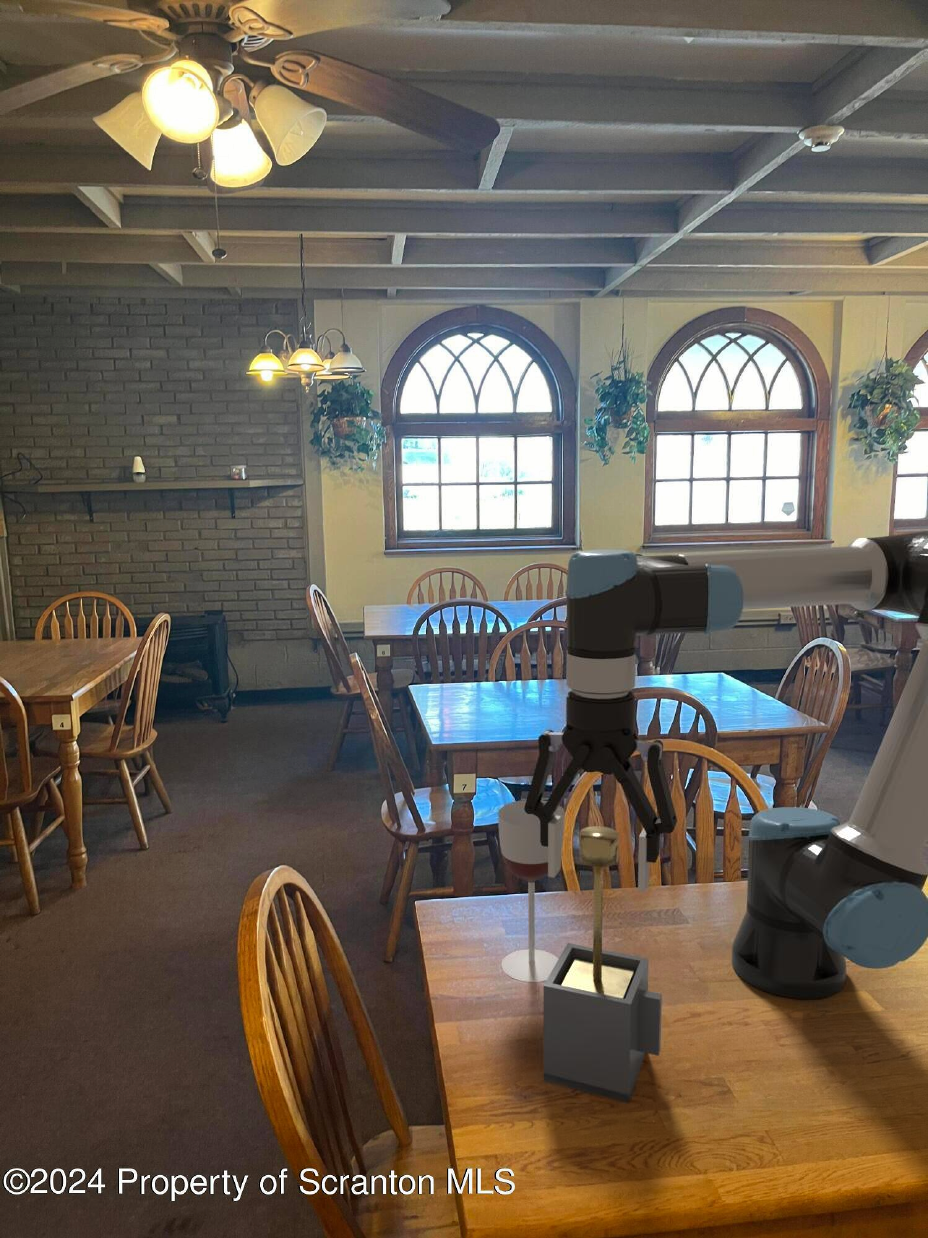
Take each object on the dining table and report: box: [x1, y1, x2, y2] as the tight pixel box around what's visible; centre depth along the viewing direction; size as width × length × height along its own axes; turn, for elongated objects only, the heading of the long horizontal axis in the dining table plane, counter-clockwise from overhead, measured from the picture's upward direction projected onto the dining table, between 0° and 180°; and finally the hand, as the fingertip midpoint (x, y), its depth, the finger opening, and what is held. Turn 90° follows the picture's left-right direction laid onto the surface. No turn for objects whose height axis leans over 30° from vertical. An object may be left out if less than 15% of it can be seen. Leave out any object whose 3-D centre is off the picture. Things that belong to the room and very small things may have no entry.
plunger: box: [562, 825, 634, 999], centre depth 102 cm, size 7×7×19 cm
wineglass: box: [497, 799, 566, 983], centre depth 125 cm, size 9×10×23 cm
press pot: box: [542, 942, 663, 1104], centre depth 104 cm, size 12×10×12 cm
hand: (598, 879), depth 102 cm, fingers open, 10 cm apart
